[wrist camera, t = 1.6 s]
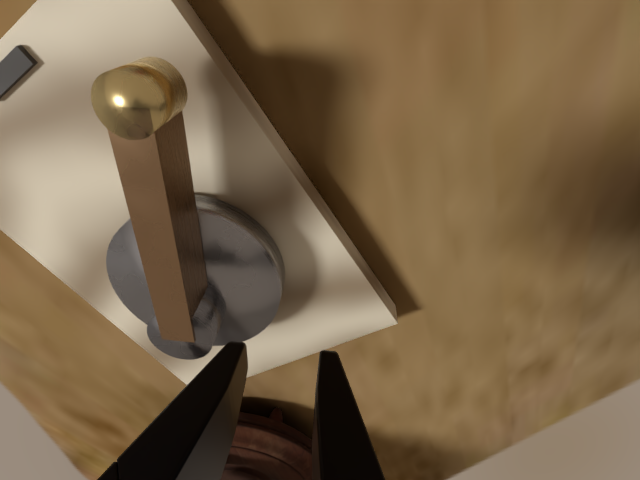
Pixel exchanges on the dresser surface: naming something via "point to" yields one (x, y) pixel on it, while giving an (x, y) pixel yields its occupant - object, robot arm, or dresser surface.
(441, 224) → the dresser surface
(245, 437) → the brown tall stacked figurine
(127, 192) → the cam lever
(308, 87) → the dresser surface
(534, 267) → the dresser surface
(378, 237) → the dresser surface
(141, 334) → the ash stand
